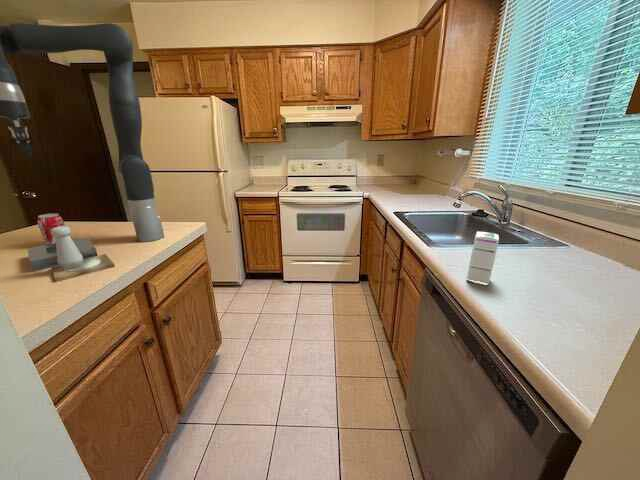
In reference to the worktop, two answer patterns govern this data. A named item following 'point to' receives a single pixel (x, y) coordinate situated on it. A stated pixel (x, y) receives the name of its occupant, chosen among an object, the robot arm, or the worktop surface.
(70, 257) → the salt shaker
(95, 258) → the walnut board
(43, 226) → the soda can
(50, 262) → the collar block
